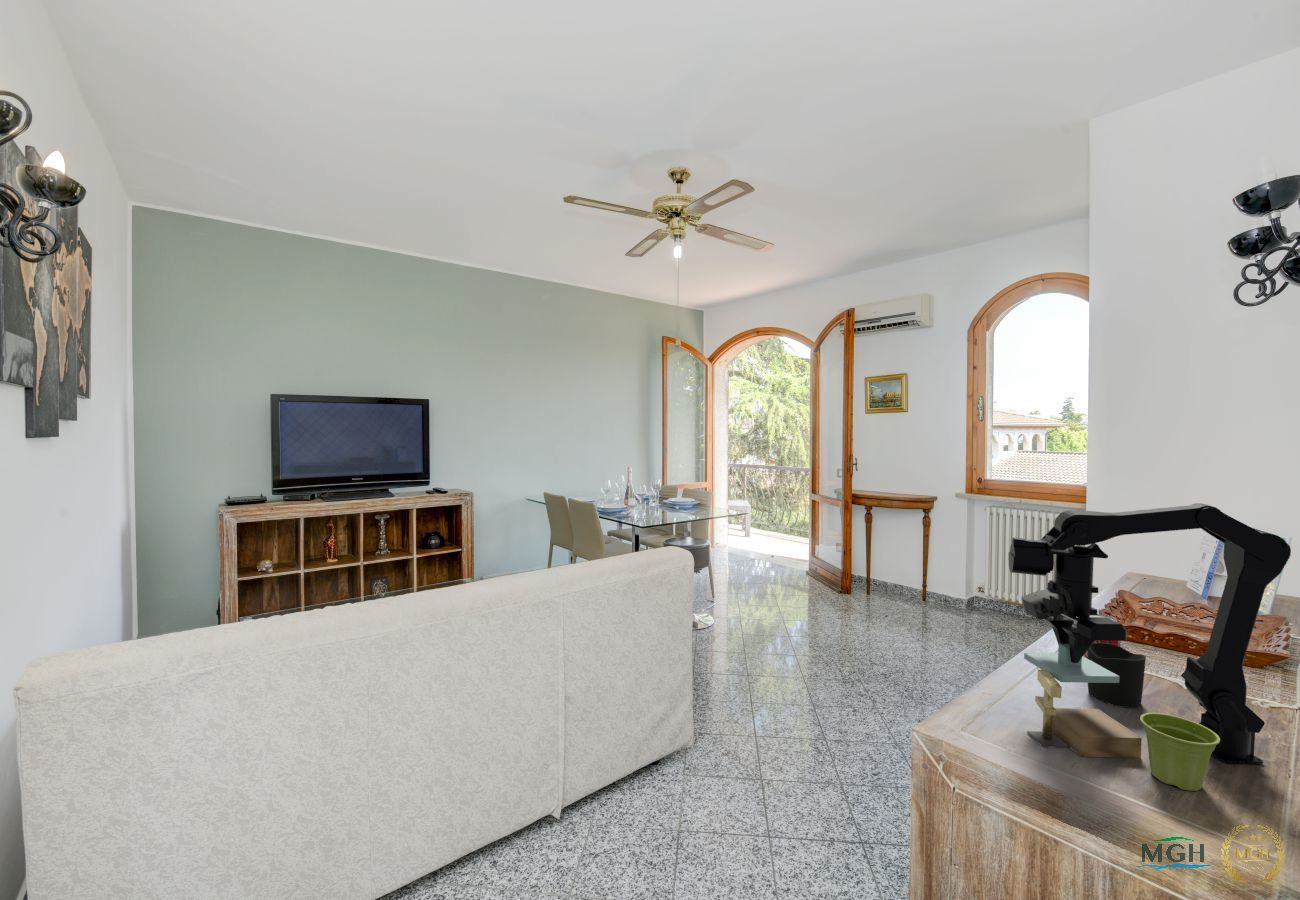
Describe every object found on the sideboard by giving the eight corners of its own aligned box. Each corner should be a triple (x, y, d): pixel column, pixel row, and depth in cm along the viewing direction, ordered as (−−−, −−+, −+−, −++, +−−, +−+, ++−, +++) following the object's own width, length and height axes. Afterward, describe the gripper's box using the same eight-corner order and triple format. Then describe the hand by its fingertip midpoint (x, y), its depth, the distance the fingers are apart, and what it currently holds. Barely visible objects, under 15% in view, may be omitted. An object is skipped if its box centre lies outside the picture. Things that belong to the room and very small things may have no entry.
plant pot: (1176, 762, 97) (1178, 712, 97) (1234, 798, 88) (1237, 743, 87) (1122, 763, 97) (1124, 712, 96) (1175, 799, 87) (1178, 744, 87)
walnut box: (1097, 727, 108) (1098, 708, 108) (1140, 757, 98) (1141, 738, 98) (1018, 725, 109) (1018, 707, 109) (1052, 755, 99) (1053, 736, 99)
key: (1034, 725, 108) (1036, 668, 107) (1045, 727, 107) (1047, 669, 107) (1048, 746, 101) (1050, 685, 100) (1060, 748, 100) (1062, 687, 100)
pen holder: (1135, 693, 122) (1137, 647, 121) (1150, 713, 113) (1152, 664, 113) (1081, 684, 126) (1083, 639, 126) (1091, 702, 118) (1093, 655, 117)
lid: (1076, 659, 113) (1077, 635, 113) (1119, 682, 103) (1120, 657, 103) (1024, 658, 114) (1024, 635, 113) (1061, 682, 103) (1062, 656, 103)
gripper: (1000, 565, 117) (997, 640, 118) (1065, 592, 98) (1062, 681, 99) (1055, 566, 117) (1052, 641, 117) (1131, 593, 98) (1126, 682, 99)
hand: (1069, 659), depth 108 cm, fingers closed on lid
